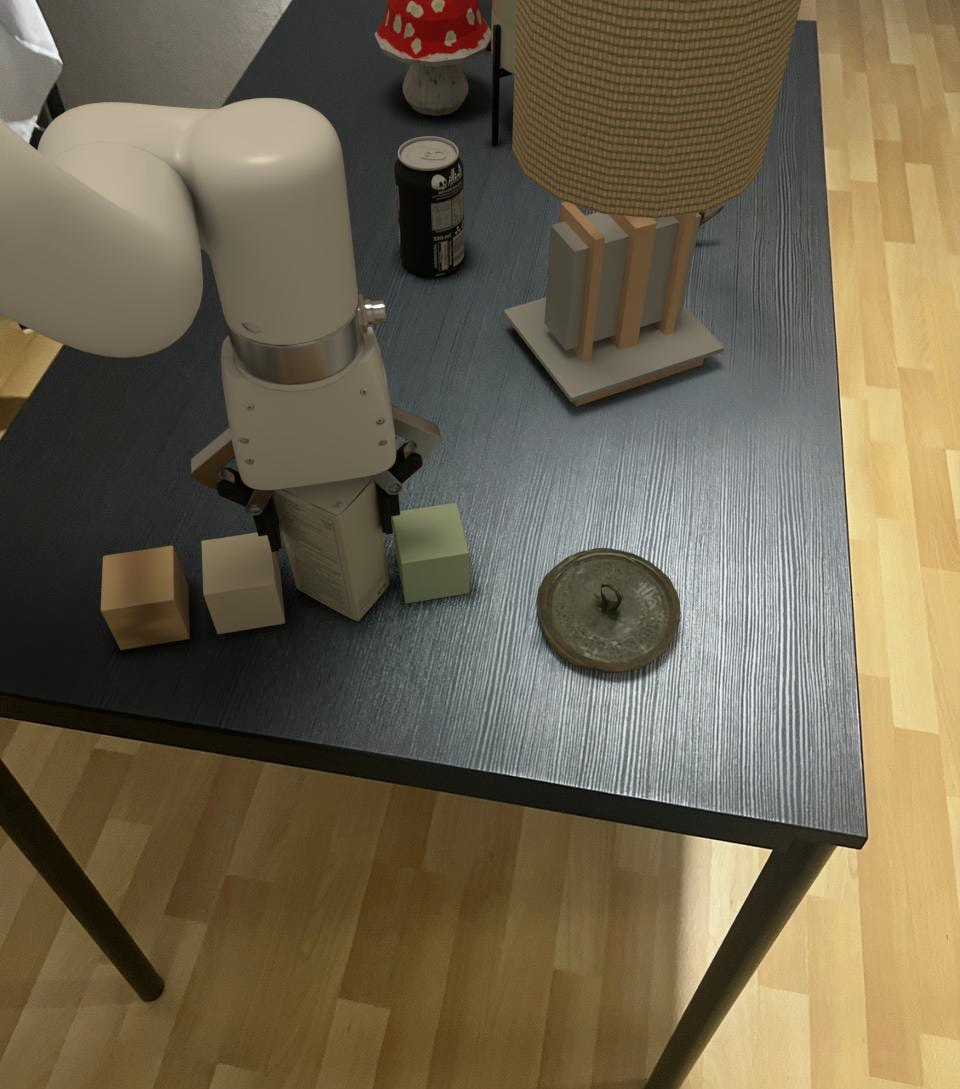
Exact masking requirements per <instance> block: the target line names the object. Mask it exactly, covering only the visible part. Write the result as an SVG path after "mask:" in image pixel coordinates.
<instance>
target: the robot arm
mask: <svg viewBox="0 0 960 1089" xmlns="http://www.w3.org/2000/svg"><path fill="white" fill-rule="evenodd" d="M344 161H345V160H344V156H343V150H342V145H341V140H340V138H339V135H338V132H337V131H336V129H335V128H334V126H333V124H332V123H331V122H330V121H329V119H328V118H327V117H326V116H325V115H324V114H322V112H320V111H319V110H317V109H315V108H313V107H311V106H310V105H307V104H305V103H303V102H300V101H296V100H293V99H288V98H281V97H280V98H279V97H258V98H257V97H256V98H251V99H243V100H239V101H235V102H232V103H229V104H226V105H224V106H222V107H219V108H194V107H193V108H192V107H181V106H180V107H179V106H168V105H167V106H166V105H155V104H146V103H134V102H117V101H109V102H108V101H103V102H95V103H86V104H83V105H79V106H75V107H73V108H70V109H67V110H66V111H64V112H63V113H61V114H60V115H58V116H57V117H55V118H54V119H53V120H52V121H51V122H50V123H49V124H48V126H47V127H46V128H45V130H44V132H43V134H42V135H41V137H40V140H39V142H38V146H37V148H35V147H34V146H32V145H31V144H30V143H29V142H28V141H27V140H26V139H24V138H23V137H22V136H21V135H20V134H18V133H17V132H16V131H15V130H14V129H12V128H11V127H10V126H9V125H8V124H7V123H6V122H5V121H4V119H2V118H1V117H0V315H2V316H4V317H6V318H8V319H10V320H11V321H14V322H15V323H17V324H19V325H21V326H23V327H25V328H27V329H29V330H31V331H33V332H35V333H37V334H39V335H40V336H43V337H45V338H47V339H50V340H52V341H54V342H56V343H59V344H62V345H64V346H67V347H70V348H73V349H76V350H78V351H81V352H84V353H89V354H92V355H97V356H98V355H99V356H102V357H109V358H122V359H123V358H124V359H126V358H127V359H128V358H139V357H143V356H147V355H151V354H155V353H158V352H160V351H162V350H164V349H166V348H168V347H170V346H171V345H173V344H174V343H175V342H177V341H178V340H180V338H182V337H183V336H184V335H185V334H186V333H187V331H188V329H189V328H190V327H191V326H192V324H193V323H194V321H195V318H196V316H197V313H198V311H199V309H200V306H201V302H202V298H203V291H204V274H203V260H202V251H204V252H205V253H206V254H207V255H208V258H209V259H210V263H211V267H212V271H213V272H212V273H213V275H214V280H215V285H216V288H217V292H218V297H219V300H220V301H219V302H220V305H221V309H222V314H223V317H224V321H225V326H226V330H227V336H226V337H225V339H223V342H222V344H221V353H220V354H221V355H220V367H221V368H220V369H221V380H222V381H221V382H222V390H223V396H224V404H225V409H226V415H227V422H228V427H227V428H226V429H225V430H224V431H223V432H221V433H220V434H219V435H218V436H217V437H215V438H214V439H213V440H212V441H210V442H209V443H208V444H207V445H206V446H204V447H203V449H201V450H200V451H199V452H197V453H196V454H195V455H194V456H193V457H191V459H190V461H189V463H190V464H189V465H190V471H189V472H190V478H192V479H193V480H194V481H196V482H198V483H200V484H202V485H203V486H205V487H207V488H208V489H211V490H215V491H217V494H218V495H219V496H220V497H221V498H223V499H226V500H227V501H230V502H233V503H235V504H238V505H240V506H242V507H245V508H244V509H245V512H246V514H248V515H249V516H252V517H253V522H254V525H255V530H256V533H258V536H259V537H260V536H266V535H267V536H268V540H269V544H270V548H271V552H280V550H282V539H281V537H282V536H281V528H280V525H279V521H278V517H277V513H276V509H275V506H274V502H273V498H272V494H273V492H274V490H275V489H284V488H292V487H300V486H307V485H314V484H321V483H327V482H334V481H341V480H347V479H354V478H360V477H366V476H370V477H371V478H372V479H373V480H374V481H375V486H376V493H377V500H378V507H379V514H380V521H381V527H382V534H385V535H386V536H387V535H393V525H392V516H398V515H400V511H401V507H400V506H401V505H400V495H399V494H401V492H402V491H403V490H404V486H403V485H404V483H405V482H406V481H407V480H408V479H410V478H411V477H412V476H413V475H414V474H416V472H417V471H419V470H420V469H421V468H422V466H423V464H424V463H423V461H424V460H425V459H428V458H429V457H430V456H431V454H433V452H435V450H436V449H437V448H438V447H439V446H440V445H441V444H442V436H441V432H440V428H439V425H438V424H437V423H434V422H432V421H429V420H427V419H425V418H422V417H420V416H418V415H416V414H413V413H411V412H409V411H407V410H404V409H402V408H400V407H397V406H395V405H392V403H391V396H390V391H389V384H388V379H387V373H386V368H385V364H384V360H383V356H382V351H381V348H380V345H379V342H378V339H377V336H376V334H375V331H374V329H373V327H375V325H379V324H387V312H386V306H385V301H384V299H376V300H371V298H364V296H363V295H364V294H362V293H359V289H358V288H359V287H358V281H357V280H358V279H357V271H356V270H357V269H356V263H355V254H354V252H355V251H354V244H353V235H352V226H351V225H352V224H351V216H350V208H349V200H348V199H349V197H348V190H347V180H346V171H345V162H344ZM396 436H398V437H400V438H403V439H405V440H407V441H406V442H404V443H403V444H402V445H401V446H399V447H398V448H397V443H396ZM234 459H235V461H236V462H235V463H236V466H237V469H234V468H231V467H226V465H227V464H229V463H230V462H231V461H233V460H234Z"/></svg>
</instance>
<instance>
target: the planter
mask: <svg viewBox="0 0 960 1089" xmlns="http://www.w3.org/2000/svg"><path fill="white" fill-rule="evenodd" d="M516 7H517V0H492V22H491V49H490V50H491V51H490V52H491V55H492V71H491V72H492V76H491V77H492V82H491V83H492V85H491V142H490V144H491V145H492V147H497V146H499V134H500V133H499V132H500V131H499V130H500V129H499V128H500V79H502V78H505V77H508V76H512V75H514V74H515V40H516Z"/></svg>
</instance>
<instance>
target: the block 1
mask: <svg viewBox="0 0 960 1089" xmlns="http://www.w3.org/2000/svg"><path fill="white" fill-rule="evenodd" d="M101 570H102V571H101V591H100V592H101V594H100V595H101V596H100V613H101V614H102V616H103V618H104V620H105V623H106V624H107V626H108V628H109V630H110V632H111V635H113V638H114V640H115V642H116V644H117V646H118V647H119V650H120V651H123V650H130V649H137V648H142V647H148V646H154V645H161V644H166V643H172V642H178V641H185V640H189V639H191V638H190V637H191V636H190V635H191V634H190V631H191V630H190V597H189V596H190V595H189V591H190V590H189V584H188V581H187V579H186V575H185V573H184V571H183V568H182V565H181V562H180V560H179V557H178V554H177V552H176V549H175V546H174V545H166V546H160V547H153V548H147V549H146V548H145V549H141V550H139V549H138V550H134V551H133V550H132V551H126V552H119V553H113V554H105V555H102V569H101Z"/></svg>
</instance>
